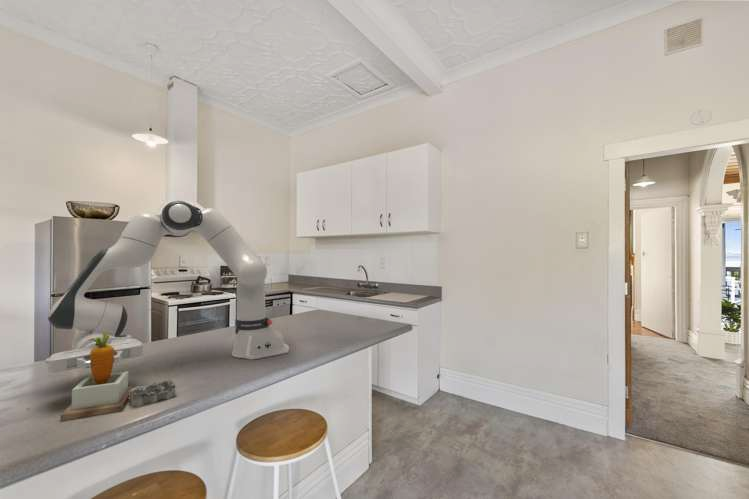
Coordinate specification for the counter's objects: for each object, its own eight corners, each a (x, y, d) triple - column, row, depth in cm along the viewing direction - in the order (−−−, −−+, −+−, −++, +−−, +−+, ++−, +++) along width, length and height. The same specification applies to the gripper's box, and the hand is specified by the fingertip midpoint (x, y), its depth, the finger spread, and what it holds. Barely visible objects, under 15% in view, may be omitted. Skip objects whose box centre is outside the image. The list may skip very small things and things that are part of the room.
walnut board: (135, 389, 95) (135, 384, 95) (121, 411, 82) (122, 405, 82) (83, 397, 89) (83, 391, 90) (60, 421, 77) (60, 415, 77)
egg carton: (129, 410, 83) (130, 394, 83) (127, 400, 89) (128, 385, 89) (177, 398, 90) (177, 383, 90) (172, 389, 96) (172, 375, 96)
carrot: (98, 393, 83) (99, 336, 83) (84, 391, 84) (85, 334, 84) (118, 385, 88) (119, 331, 88) (104, 383, 89) (106, 330, 89)
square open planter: (127, 388, 92) (128, 371, 92) (118, 402, 84) (118, 383, 84) (86, 394, 88) (86, 376, 88) (71, 409, 80) (72, 389, 80)
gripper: (45, 347, 87) (47, 359, 78) (136, 334, 102) (147, 342, 93) (45, 370, 87) (47, 385, 78) (136, 353, 102) (147, 364, 93)
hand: (102, 362), depth 85 cm, fingers closed on carrot, 5 cm apart
